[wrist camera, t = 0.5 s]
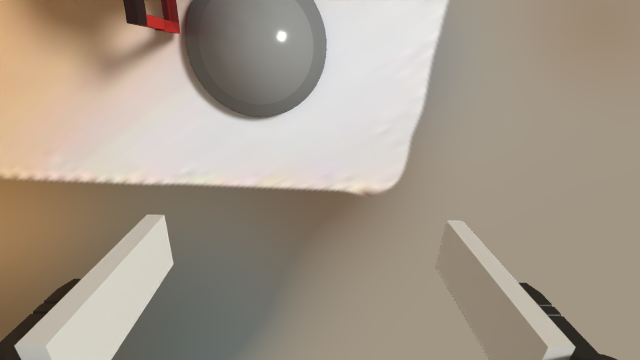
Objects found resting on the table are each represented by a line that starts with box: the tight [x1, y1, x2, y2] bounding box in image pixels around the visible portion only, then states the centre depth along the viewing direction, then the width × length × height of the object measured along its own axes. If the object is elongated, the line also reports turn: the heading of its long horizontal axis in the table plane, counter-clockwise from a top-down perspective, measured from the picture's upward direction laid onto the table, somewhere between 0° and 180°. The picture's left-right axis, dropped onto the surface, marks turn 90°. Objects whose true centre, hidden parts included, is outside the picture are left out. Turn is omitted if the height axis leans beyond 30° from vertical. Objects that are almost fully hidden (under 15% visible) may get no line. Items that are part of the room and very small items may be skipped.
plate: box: [186, 0, 326, 117], centre depth 35 cm, size 16×16×1 cm
